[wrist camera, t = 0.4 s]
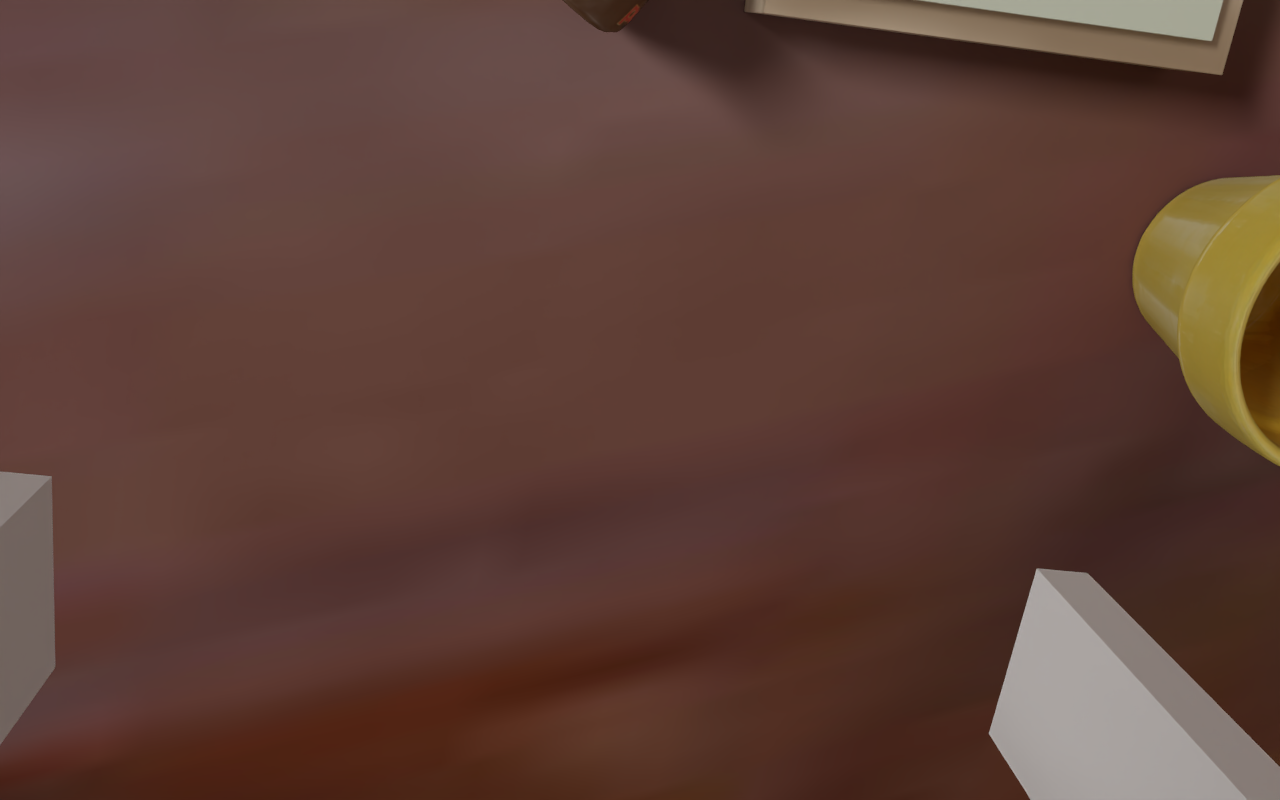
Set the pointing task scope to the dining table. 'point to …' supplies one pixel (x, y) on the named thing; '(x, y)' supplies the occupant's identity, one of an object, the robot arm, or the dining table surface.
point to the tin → (607, 12)
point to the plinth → (1048, 25)
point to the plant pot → (1220, 300)
